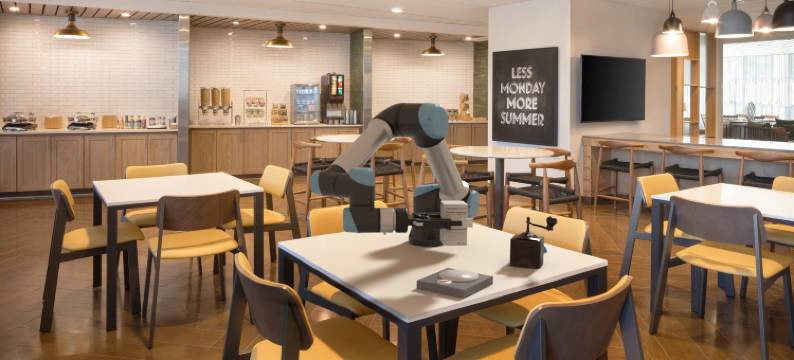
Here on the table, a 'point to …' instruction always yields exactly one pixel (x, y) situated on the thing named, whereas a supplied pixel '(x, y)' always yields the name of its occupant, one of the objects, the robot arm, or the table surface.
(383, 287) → the table surface
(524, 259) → the manual coffee grinder
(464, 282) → the scale
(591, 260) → the table surface
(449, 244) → the supplement box
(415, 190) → the robot arm
